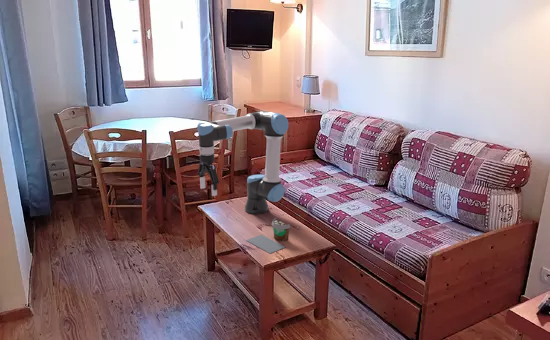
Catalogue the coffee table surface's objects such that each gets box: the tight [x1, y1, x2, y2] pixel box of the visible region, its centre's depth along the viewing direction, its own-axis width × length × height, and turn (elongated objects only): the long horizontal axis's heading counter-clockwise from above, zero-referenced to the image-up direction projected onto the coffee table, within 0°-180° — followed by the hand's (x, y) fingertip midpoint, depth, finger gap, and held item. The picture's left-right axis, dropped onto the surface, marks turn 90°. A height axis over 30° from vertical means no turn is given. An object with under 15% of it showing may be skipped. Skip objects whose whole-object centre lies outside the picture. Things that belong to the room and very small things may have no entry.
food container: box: [271, 217, 291, 242], centre depth 241 cm, size 12×6×10 cm, turn 40°
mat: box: [245, 234, 286, 255], centre depth 236 cm, size 11×20×1 cm, turn 42°
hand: (208, 191), depth 234 cm, fingers open, 13 cm apart
